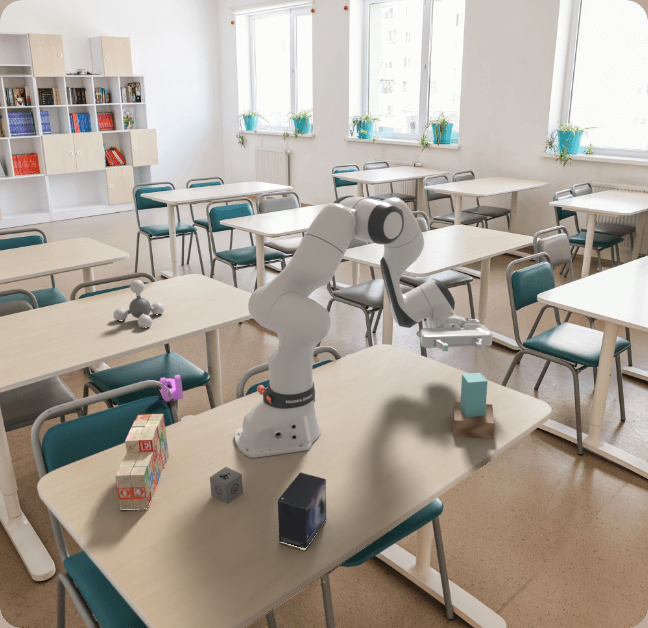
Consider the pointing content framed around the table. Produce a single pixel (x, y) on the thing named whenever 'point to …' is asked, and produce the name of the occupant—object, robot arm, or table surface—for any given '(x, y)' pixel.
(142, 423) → the stack of blocks
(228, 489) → the dice cube
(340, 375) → the table surface
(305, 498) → the small box
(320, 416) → the table surface
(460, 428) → the walnut base
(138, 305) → the molecule model
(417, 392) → the table surface
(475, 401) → the teal pillar
